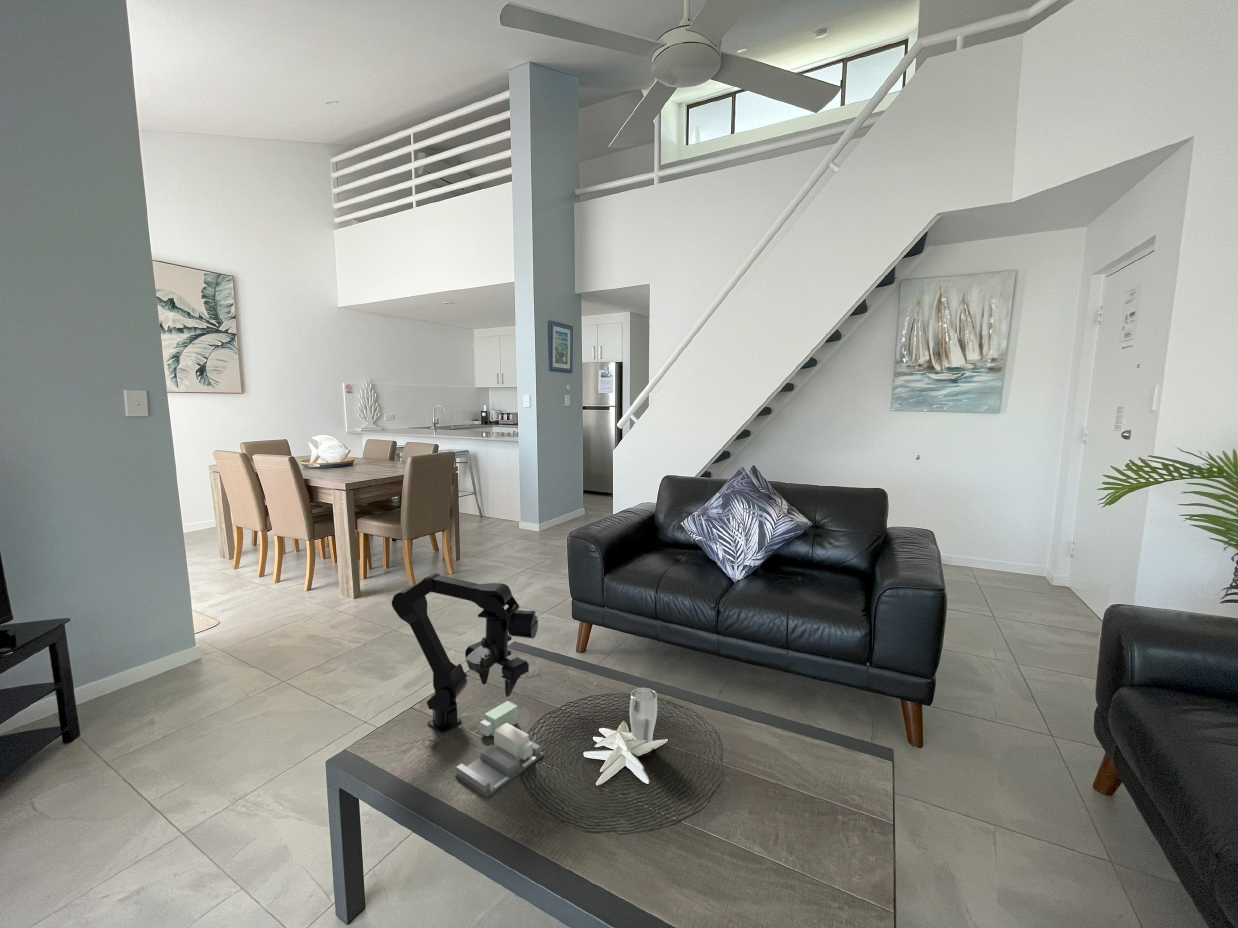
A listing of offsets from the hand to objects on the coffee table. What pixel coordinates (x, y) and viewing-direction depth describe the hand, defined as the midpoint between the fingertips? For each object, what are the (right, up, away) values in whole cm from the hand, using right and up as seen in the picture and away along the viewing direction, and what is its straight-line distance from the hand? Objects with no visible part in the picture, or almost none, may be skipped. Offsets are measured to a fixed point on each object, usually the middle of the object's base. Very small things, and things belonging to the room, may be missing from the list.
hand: (495, 689), depth 138 cm
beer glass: (+38, -14, -5) cm, 41 cm away
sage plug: (0, -11, +2) cm, 12 cm away
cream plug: (+6, -12, -8) cm, 16 cm away
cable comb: (+4, -13, -12) cm, 18 cm away
